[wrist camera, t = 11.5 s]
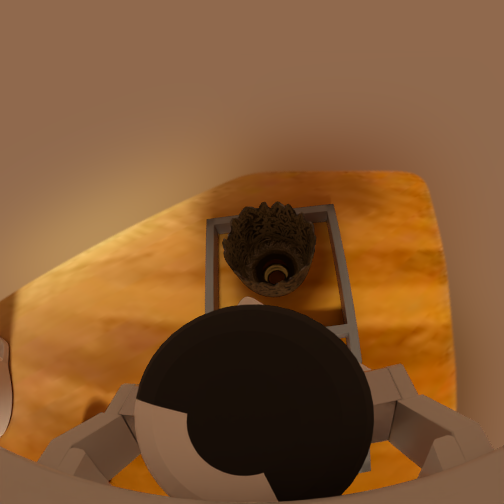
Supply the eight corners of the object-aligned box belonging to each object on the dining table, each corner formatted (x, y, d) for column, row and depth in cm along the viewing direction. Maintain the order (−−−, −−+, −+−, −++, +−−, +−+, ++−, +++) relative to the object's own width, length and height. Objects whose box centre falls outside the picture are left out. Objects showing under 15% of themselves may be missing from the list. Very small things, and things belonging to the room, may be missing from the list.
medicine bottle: (264, 331, 19) (214, 226, 8) (364, 391, 16) (456, 365, 6) (196, 422, 17) (61, 427, 6) (293, 488, 14) (276, 598, 4)
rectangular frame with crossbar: (366, 466, 22) (370, 470, 20) (216, 477, 23) (210, 482, 22) (332, 214, 34) (333, 204, 33) (211, 229, 36) (206, 219, 34)
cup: (301, 322, 29) (301, 294, 22) (230, 302, 31) (208, 269, 24) (321, 254, 32) (325, 210, 25) (254, 238, 34) (241, 193, 27)
